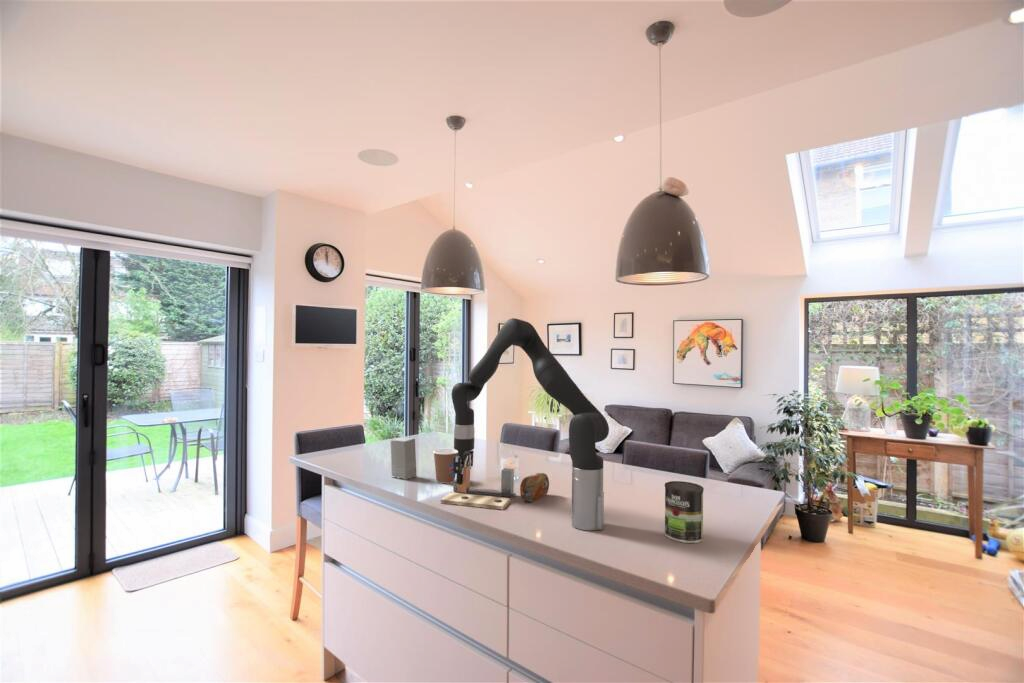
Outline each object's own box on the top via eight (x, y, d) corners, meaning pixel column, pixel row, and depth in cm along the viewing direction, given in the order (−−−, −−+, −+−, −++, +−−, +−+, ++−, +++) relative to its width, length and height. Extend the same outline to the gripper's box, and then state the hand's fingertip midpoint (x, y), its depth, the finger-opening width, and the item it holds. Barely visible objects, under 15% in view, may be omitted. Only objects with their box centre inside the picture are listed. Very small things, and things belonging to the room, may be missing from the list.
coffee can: (693, 546, 122) (693, 493, 123) (657, 535, 130) (658, 485, 130) (709, 536, 130) (709, 486, 130) (674, 527, 137) (675, 479, 138)
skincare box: (416, 477, 190) (417, 438, 191) (404, 480, 184) (405, 440, 185) (401, 474, 195) (402, 436, 196) (389, 477, 189) (390, 438, 190)
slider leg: (469, 490, 172) (470, 465, 172) (465, 492, 168) (466, 467, 169) (460, 489, 173) (461, 464, 173) (456, 491, 169) (457, 466, 170)
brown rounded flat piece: (525, 504, 156) (526, 479, 157) (518, 503, 158) (518, 478, 158) (549, 495, 168) (550, 471, 169) (542, 493, 170) (542, 470, 170)
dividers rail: (516, 495, 167) (517, 469, 167) (514, 498, 163) (514, 471, 164) (457, 489, 173) (457, 464, 174) (453, 491, 170) (453, 466, 170)
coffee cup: (454, 485, 179) (455, 454, 179) (428, 484, 180) (429, 453, 181) (461, 478, 189) (462, 449, 189) (437, 477, 190) (437, 448, 191)
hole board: (510, 501, 159) (510, 497, 159) (502, 509, 150) (502, 505, 150) (451, 495, 165) (451, 492, 165) (440, 503, 156) (440, 499, 156)
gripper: (466, 440, 163) (465, 487, 163) (480, 434, 177) (479, 478, 177) (447, 438, 166) (446, 485, 165) (462, 433, 179) (461, 476, 179)
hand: (463, 481), depth 171 cm, fingers open, 6 cm apart
